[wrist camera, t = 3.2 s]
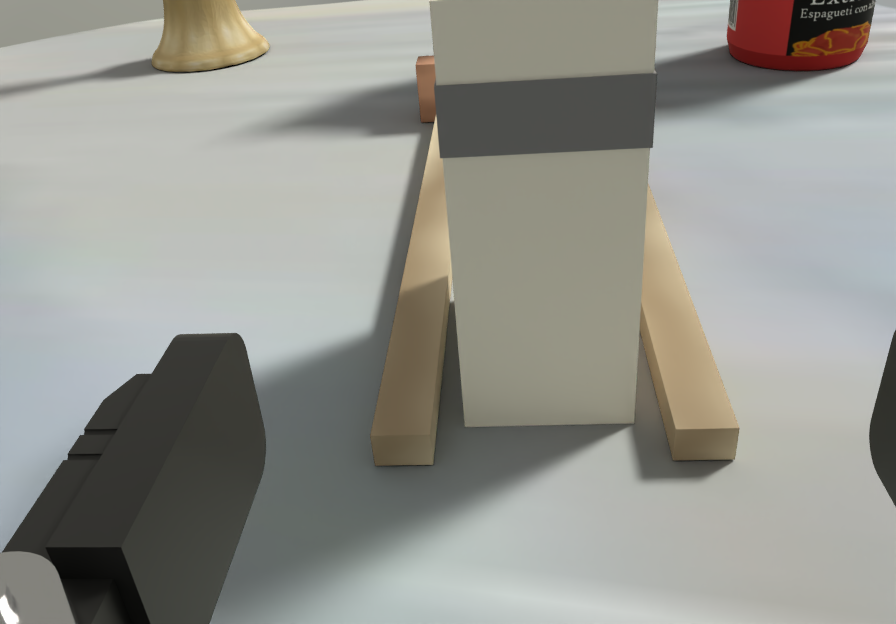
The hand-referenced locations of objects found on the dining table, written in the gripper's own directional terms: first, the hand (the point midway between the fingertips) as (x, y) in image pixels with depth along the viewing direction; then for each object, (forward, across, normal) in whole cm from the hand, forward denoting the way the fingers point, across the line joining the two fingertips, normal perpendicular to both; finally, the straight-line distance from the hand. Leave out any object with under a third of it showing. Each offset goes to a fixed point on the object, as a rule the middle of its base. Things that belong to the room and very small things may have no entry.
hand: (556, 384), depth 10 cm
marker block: (+12, 0, +8) cm, 15 cm away
